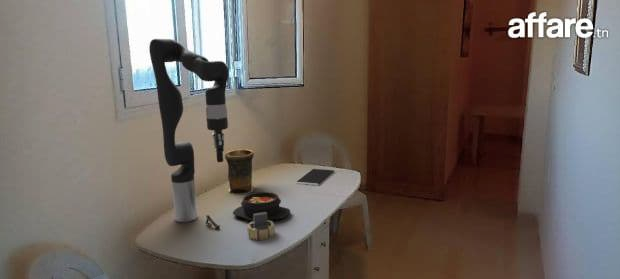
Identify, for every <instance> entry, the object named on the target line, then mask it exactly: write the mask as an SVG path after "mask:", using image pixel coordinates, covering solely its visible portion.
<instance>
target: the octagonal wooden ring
mask: <svg viewBox="0 0 620 279" xmlns="http://www.w3.org/2000/svg"><path fill="white" fill-rule="evenodd" d="M267 221H268V224H269V227H267V228H263V229H255V228H253V224H254V221H253V220H251V221H250V222H249V223H247V225H246V229H247V236H248V238H249V240H252V241H253V240H255V241H264V240H269V239H271V238H272V237H274V236H275V234H276V230H275V223H274V222H273V220H270V219H269V220H267Z"/></svg>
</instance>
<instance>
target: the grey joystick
mask: <svg viewBox="0 0 620 279" xmlns="http://www.w3.org/2000/svg"><path fill="white" fill-rule="evenodd" d="M252 221H254V224H253V228H255V229H263V228H267V227H269V224H268V221H267V213H266V212H262V213H256V214H253V220H252Z"/></svg>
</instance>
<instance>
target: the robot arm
mask: <svg viewBox="0 0 620 279" xmlns="http://www.w3.org/2000/svg"><path fill="white" fill-rule="evenodd" d="M148 50H149V57H150V60H151V66H152V69H153V74H154V79H155V84H156V92H157V100H158V105H159V106H158V108H159V112H160V118H161V125H162V135H163V136H162V138H163V151H164V159H165V161H166V163H167V165H168V166H169V167H177V166H179V165H181V166H180V167H178V169H177V170H175V171H173V173H171V175H170V180H171V188H172V199H173V200H172V201H173V208H174V219H175V222H178V223H188V222H193V221H195V220H196V219H198V208H197V206H198V205H197V196H196V184H195V172H196V170H195V152H194V151H195V150H194V148H193V145H192V143H191V142H190V141H187V140H186V141H185V140H183V141H180V142H179V141H178V142H176V139H175V138H176V130H177V128H178V125H179V123H180V121H181V118H182V115H183V112H184V103H183V97H182V93H181V91H180V89H179V88H178V86H177V85H176V84H175V82H173V79H172V78H171V77H170V75H169V73H168V71H167V68H166V63H173V62H179V63H181V65H182V66H183V67H184V68H185V70H187V71H189V72H191V73H193V74H195V75H196V77H198V78H199V79H200V80H201V81H204V82H214V83H213V85H212V86H211V87H208V88H207V89H206V90H205V106H206V108H205V113H206V114H205V115H206V116H205V117H206V126H207V127H206V128H207V130H209V131H214V132H213V133H212V139H213V146H214V149H215V153H216V161H217V163H223V162H224V151H225V149H224V148H225V140H224V139H225V134H224V133H223V130H224V131H225V130H227V129H228V128H229V121H228V109H227V104H226V89H227V85H228V80H229V79H228V78H229V68H228V66H227V64H226V62H224V61H223V60H216V61H209V59H208V58H206V57H205V56H203V55H201V54H198V53H196V52H194V51H191V50H189V49H188V48H187V47H185V46H184V45H183V44H181V43H180V42H178V41H177V40H175V39H172V38H154V39H151V40H150V42H149V48H148Z"/></svg>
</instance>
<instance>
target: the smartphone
mask: <svg viewBox="0 0 620 279" xmlns="http://www.w3.org/2000/svg"><path fill="white" fill-rule="evenodd" d="M333 174H335V170H334V169H323V168H313V169H311V170H310V171H308V172H307V173H306V174H305V175H303V176H302V177H301V178H299V179H298V180H297V181H295V185H301V186H303V185H304V186H310V187H311V186H313V187H319V186H321V185H322V184H323V183H324V182H325V181H326V180H327V179H329V178H330V177H331V176H332V175H333Z"/></svg>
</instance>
